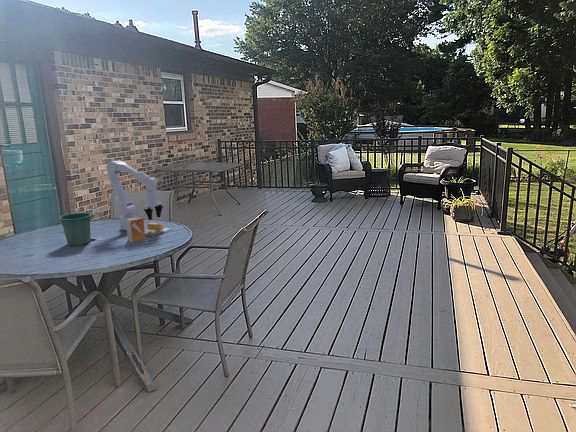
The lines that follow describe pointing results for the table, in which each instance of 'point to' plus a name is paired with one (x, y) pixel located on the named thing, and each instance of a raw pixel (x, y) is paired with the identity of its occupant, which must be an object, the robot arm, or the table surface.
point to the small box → (135, 229)
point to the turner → (157, 227)
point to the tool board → (152, 232)
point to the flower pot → (76, 228)
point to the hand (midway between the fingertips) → (154, 218)
